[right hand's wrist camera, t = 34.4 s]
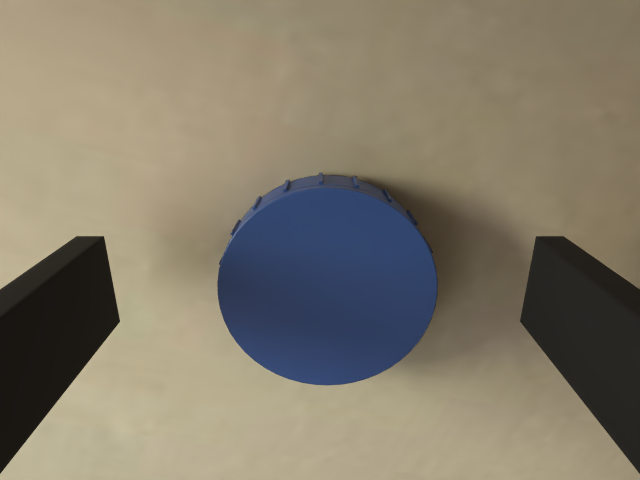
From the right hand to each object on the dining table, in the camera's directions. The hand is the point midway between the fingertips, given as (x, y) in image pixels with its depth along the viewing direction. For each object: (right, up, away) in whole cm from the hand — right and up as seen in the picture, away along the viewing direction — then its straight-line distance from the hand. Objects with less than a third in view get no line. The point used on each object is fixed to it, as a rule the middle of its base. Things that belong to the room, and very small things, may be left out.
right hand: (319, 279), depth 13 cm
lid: (0, 0, +1) cm, 1 cm away
